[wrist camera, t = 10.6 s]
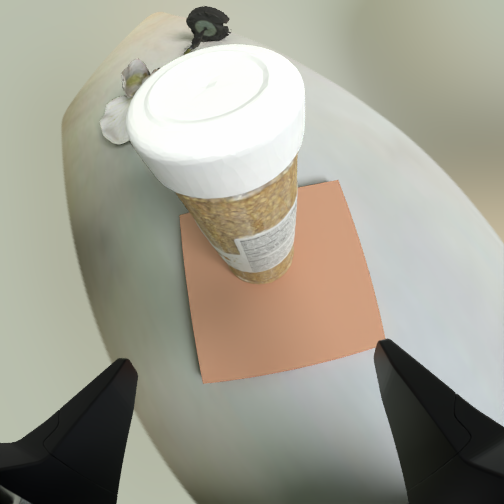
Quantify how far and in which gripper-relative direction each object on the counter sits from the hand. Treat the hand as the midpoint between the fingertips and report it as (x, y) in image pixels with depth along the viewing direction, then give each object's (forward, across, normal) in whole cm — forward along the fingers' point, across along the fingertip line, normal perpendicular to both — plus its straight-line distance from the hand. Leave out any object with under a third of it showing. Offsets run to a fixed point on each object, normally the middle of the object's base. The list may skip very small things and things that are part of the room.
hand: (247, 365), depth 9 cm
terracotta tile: (+10, -1, +3) cm, 10 cm away
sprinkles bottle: (+10, 0, +1) cm, 10 cm away
